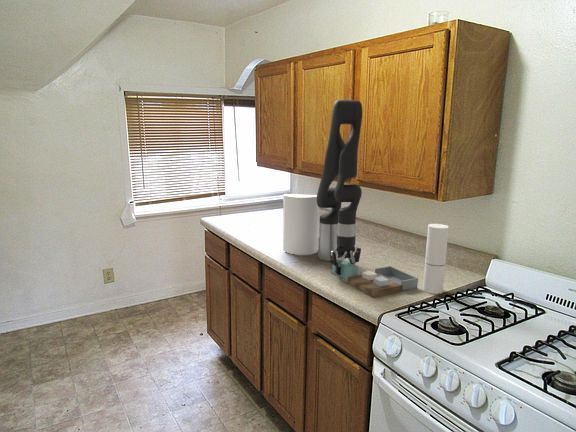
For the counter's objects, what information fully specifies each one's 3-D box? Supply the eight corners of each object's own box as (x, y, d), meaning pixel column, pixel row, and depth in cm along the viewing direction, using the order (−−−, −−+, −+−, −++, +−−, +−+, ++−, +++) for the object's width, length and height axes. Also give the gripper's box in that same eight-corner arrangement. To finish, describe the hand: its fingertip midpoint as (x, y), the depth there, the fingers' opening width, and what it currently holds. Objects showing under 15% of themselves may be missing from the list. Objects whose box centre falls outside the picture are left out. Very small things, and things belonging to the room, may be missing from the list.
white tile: (362, 277, 163) (362, 272, 162) (370, 275, 165) (370, 270, 164) (368, 280, 159) (368, 275, 159) (376, 278, 161) (376, 273, 161)
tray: (374, 277, 169) (375, 268, 168) (389, 274, 173) (390, 265, 172) (401, 291, 155) (402, 281, 154) (417, 288, 159) (418, 278, 158)
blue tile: (373, 282, 157) (373, 277, 156) (381, 281, 158) (381, 276, 158) (380, 286, 153) (380, 281, 153) (388, 284, 155) (388, 279, 154)
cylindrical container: (438, 286, 160) (444, 223, 155) (445, 293, 153) (452, 228, 148) (420, 286, 160) (425, 223, 155) (426, 293, 153) (432, 228, 148)
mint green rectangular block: (332, 273, 174) (332, 259, 173) (338, 271, 176) (339, 258, 175) (350, 282, 164) (351, 267, 163) (357, 280, 166) (358, 266, 165)
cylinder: (315, 256, 197) (316, 198, 191) (279, 253, 200) (280, 196, 194) (319, 246, 213) (321, 192, 207) (287, 244, 216) (287, 191, 211)
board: (347, 282, 163) (347, 276, 163) (374, 277, 169) (374, 272, 168) (373, 297, 149) (373, 291, 149) (400, 291, 155) (401, 285, 154)
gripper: (355, 229, 173) (353, 268, 176) (326, 233, 167) (325, 273, 170) (366, 234, 166) (364, 273, 170) (336, 237, 160) (335, 279, 163)
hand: (344, 273), depth 170 cm, fingers open, 5 cm apart
